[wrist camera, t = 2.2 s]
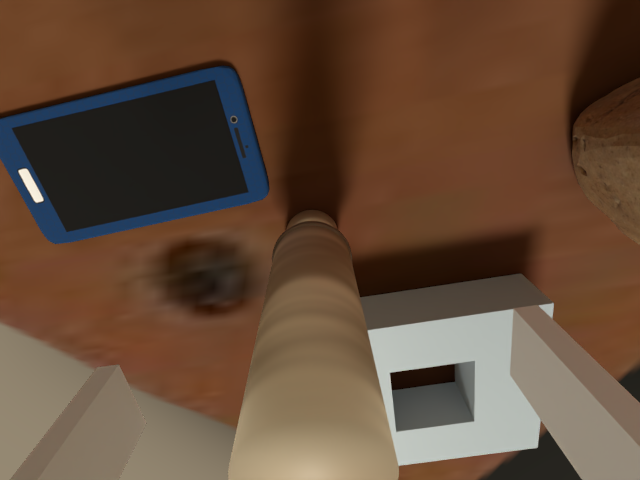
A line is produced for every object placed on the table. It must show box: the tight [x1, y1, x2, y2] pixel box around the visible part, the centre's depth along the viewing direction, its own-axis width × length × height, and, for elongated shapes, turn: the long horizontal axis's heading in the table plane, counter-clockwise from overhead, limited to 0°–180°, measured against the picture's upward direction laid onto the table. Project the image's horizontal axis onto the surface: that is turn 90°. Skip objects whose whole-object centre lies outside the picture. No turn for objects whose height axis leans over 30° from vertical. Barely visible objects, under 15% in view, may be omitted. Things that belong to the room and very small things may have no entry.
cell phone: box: [0, 66, 269, 244], centre depth 20 cm, size 7×14×1 cm, turn 102°
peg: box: [228, 210, 399, 480], centre depth 15 cm, size 4×4×15 cm
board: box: [360, 273, 554, 466], centre depth 25 cm, size 12×14×4 cm
